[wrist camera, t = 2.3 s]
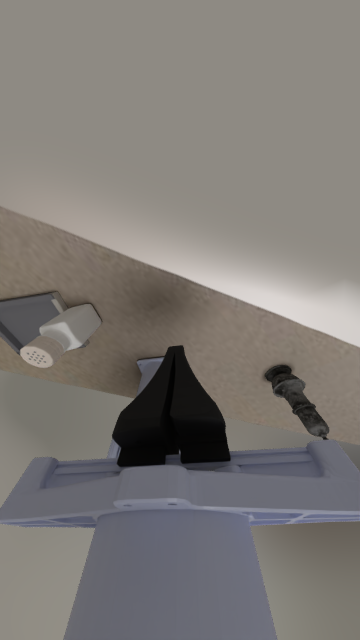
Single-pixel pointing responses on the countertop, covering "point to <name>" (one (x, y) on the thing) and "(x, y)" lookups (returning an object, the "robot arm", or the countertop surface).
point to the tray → (28, 317)
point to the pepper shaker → (61, 335)
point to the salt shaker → (297, 399)
